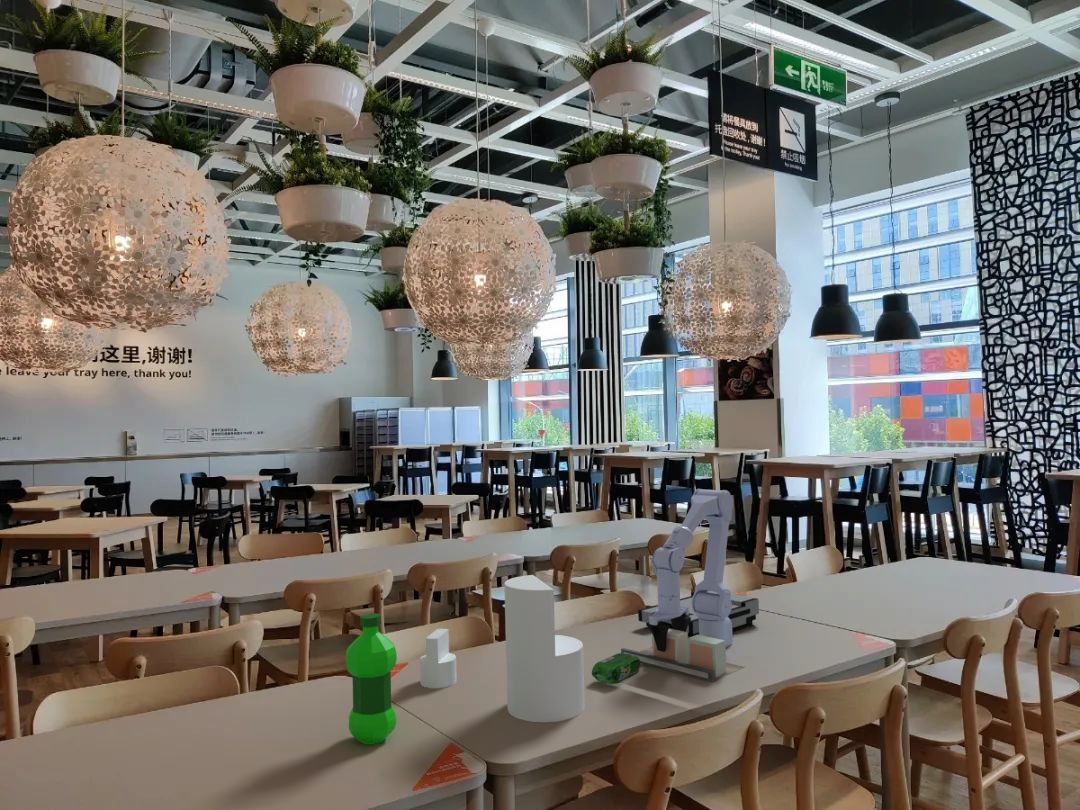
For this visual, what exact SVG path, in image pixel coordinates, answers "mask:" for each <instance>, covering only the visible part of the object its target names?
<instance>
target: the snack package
mask: <svg viewBox="0 0 1080 810" xmlns="http://www.w3.org/2000/svg"><path fill="white" fill-rule="evenodd" d="M640 668H641V664H640V659H639V658H638V657H637V656H635V655H631V654H623V653H621V652H620V653H615V654H613V655H611V656H609V657H607V658H604V659H602V660H600V661H597V662H596V663H595V664H594V665H593V667H592V669H591V675H592V677H593V678H594V679H595V680H596V681H597V682H601V683H608V684H614V685H615V684H619V683H621V682H620V681H623V680H625V679H627V678H628V677H630V676H633V675H634V674H637V673H638V672H639V670H640Z"/></svg>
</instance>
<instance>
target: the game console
mask: <svg viewBox="0 0 1080 810" xmlns="http://www.w3.org/2000/svg"><path fill="white" fill-rule="evenodd" d="M694 592H695V590H694V591H691V592H690V596H686V597H683V598H680V607H681V606H685V607H689V614H688V615H686V616H689V617H691V621H690V623H689V625H688V627H687V629H686V632H688V638H690V637H693V636H695V635H699V617H697V616H696V613H695V612H694V611H693V609H692V604H691V601H692V597H693V595H694ZM708 593H714V594H718V593H717V592H714V591H708ZM759 602H760V601H759V598H757V597H751V596H744V595H740V594H734V593H731V603H732V609H731V612H730V614H729V616H728V618H729V619H730V621H731V623H732V633H733V632H737V631H741V630H743V628H744V629H746V627H747V628H749V627H748V626H750V627H753V626H752V625H753V621H756V620H757V615H758V614H759V615H760V607H759V606H760V605H759ZM657 609H658V604H655V605H651V606H648V607H644V608H640V609H638V611H637V615H638V619H637V620H638V622H642V623H645V625H646V627H648V622H649V616H652V615H653V614H655V610H657ZM663 623H664V625H668V626H670V627H669V629H673V627H672V623H671V620H667V621H664V622H663ZM740 629H741V630H740Z"/></svg>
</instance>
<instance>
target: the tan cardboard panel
mask: <svg viewBox="0 0 1080 810" xmlns="http://www.w3.org/2000/svg"><path fill="white" fill-rule="evenodd" d="M620 653H623V654H631V655H635V656H637V657H638V658H639V659H640V665H645V666H648V667H652V668H657V669H660V670H663V671H668V672H672V673H675V674H678V675H679V674H680V675H683V676H687V677H689V678H693V679H699V680H702V681H706V682H710V683H713V682H715V681H718V680H720V679H722V678H724V677H727V676H729V675H731V674H734V673H736V672H737V671H740V670H742V669H744V668H745V666H742V665H738V664H735V663H729V662H726V673H725V674H723V675H721V676H719V677H716V678H715V677H714V670H710V669H706V668H702V667H698V666H694V665H690V664H686V663H682V662H678V661H674V660H670V659H666V658H662V657H658V656H654V655H653V653H652V646H651V647H649V648H646V649H642V650H640V651H637V650H634V649H630V648H625V647H622V648H620Z"/></svg>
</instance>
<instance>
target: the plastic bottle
mask: <svg viewBox="0 0 1080 810" xmlns="http://www.w3.org/2000/svg"><path fill="white" fill-rule="evenodd" d="M359 619H360V620H359V624H360V625H359V626H360V627H361V628H362V633H361V634H360V635H359V636H358V637H357V638H355V639H354V640H353V642H351V644H349V646H348V647H347V649H346V652H345V665H346V670H347V672H348V673H349V674H350V675H352V708H351V710H350V713H349V715H348V729H349V731H350V732H349V733H350V735H352V736H353V738H355V739H356V740H358V741H359V742H360V743H361V742H362V744H364V745H376V744H379V743H382V742H383V741H385V740H386V738H387V737H388V736H389V735H390V734H391V733H392V732H394V730H395V728H396V724H397V716H396V715H397V714H396V711H395V708H394V706H393V705H392V683H391V682H392V677H391V675H392V674H391V672H392V671H393V669H394V668H395V667H396V665H397V658H398V657H397V653H398V652H397V650H396V647H395V644H394V641H392V640H391V639H390V638H388V637H387V636H386V635H385V634H382V633H381V632H380V631H379V627H380V626H381V625H382V621H381V620H382V615H381V613H365V614H362V615H360V616H359ZM375 743H376V744H375Z"/></svg>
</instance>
